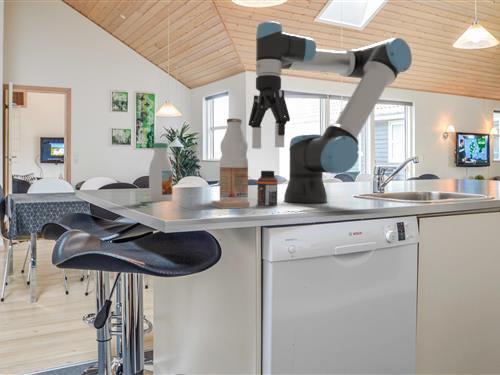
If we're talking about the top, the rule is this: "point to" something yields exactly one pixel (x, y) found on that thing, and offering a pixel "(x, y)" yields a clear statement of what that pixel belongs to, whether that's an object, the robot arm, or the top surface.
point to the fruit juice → (234, 163)
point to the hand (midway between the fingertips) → (267, 148)
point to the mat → (203, 207)
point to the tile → (230, 204)
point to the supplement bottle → (267, 189)
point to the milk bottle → (160, 175)
